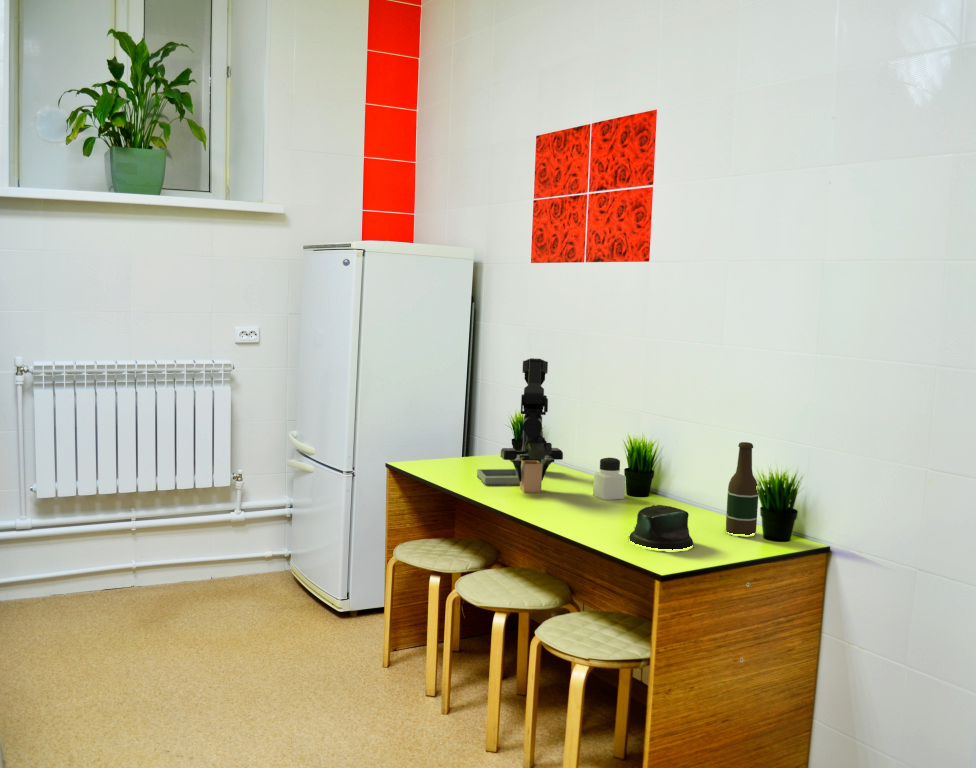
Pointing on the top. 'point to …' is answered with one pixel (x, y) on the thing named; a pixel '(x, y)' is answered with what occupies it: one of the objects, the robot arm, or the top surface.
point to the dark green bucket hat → (662, 528)
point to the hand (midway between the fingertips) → (530, 481)
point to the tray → (498, 476)
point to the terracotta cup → (531, 477)
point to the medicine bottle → (609, 480)
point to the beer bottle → (742, 495)
